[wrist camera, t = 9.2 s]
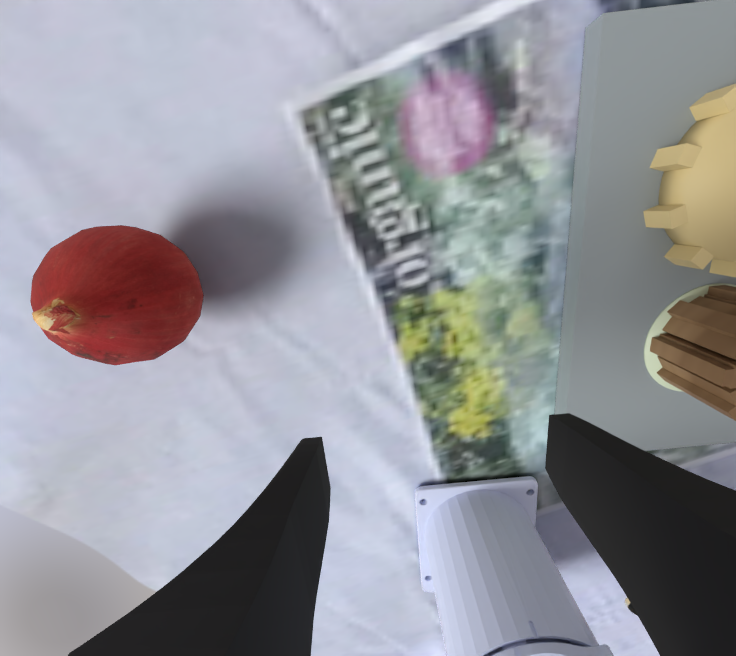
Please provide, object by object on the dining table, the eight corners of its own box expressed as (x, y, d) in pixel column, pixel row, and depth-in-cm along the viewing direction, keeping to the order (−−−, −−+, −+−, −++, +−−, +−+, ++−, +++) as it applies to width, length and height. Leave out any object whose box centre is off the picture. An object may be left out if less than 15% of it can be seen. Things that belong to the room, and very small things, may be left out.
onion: (216, 343, 20) (126, 426, 12) (111, 313, 19) (-53, 381, 12) (236, 243, 18) (145, 267, 10) (121, 206, 17) (-65, 204, 10)
